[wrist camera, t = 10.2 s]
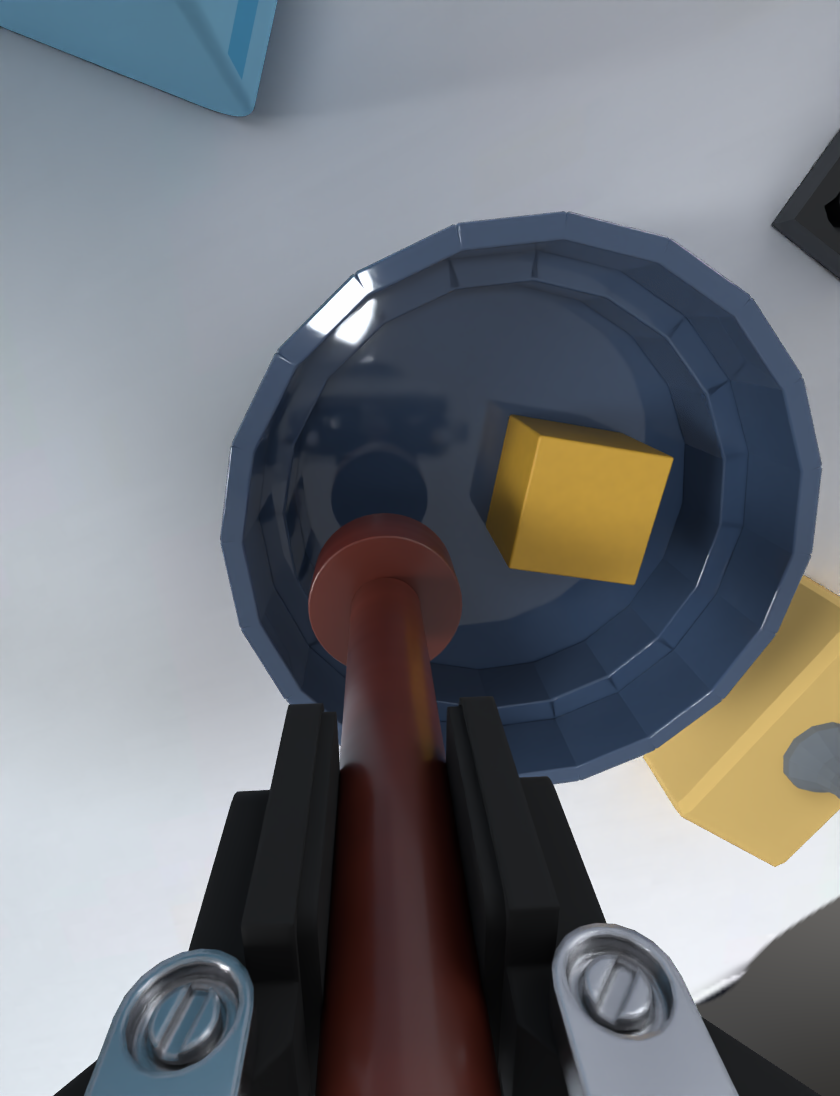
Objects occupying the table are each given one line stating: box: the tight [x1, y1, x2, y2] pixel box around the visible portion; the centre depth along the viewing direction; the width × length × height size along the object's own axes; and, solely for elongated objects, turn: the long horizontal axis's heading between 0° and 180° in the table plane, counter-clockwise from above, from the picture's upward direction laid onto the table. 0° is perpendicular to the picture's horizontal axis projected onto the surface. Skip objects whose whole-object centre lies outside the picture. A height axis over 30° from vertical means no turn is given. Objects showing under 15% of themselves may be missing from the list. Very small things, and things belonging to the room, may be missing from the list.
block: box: [486, 415, 673, 585], centre depth 20 cm, size 4×4×4 cm
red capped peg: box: [308, 513, 502, 1096], centre depth 12 cm, size 4×4×14 cm
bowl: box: [220, 211, 822, 784], centre depth 20 cm, size 16×16×6 cm
